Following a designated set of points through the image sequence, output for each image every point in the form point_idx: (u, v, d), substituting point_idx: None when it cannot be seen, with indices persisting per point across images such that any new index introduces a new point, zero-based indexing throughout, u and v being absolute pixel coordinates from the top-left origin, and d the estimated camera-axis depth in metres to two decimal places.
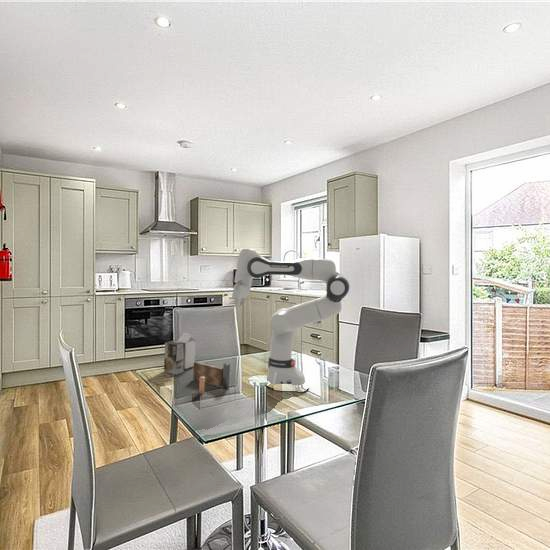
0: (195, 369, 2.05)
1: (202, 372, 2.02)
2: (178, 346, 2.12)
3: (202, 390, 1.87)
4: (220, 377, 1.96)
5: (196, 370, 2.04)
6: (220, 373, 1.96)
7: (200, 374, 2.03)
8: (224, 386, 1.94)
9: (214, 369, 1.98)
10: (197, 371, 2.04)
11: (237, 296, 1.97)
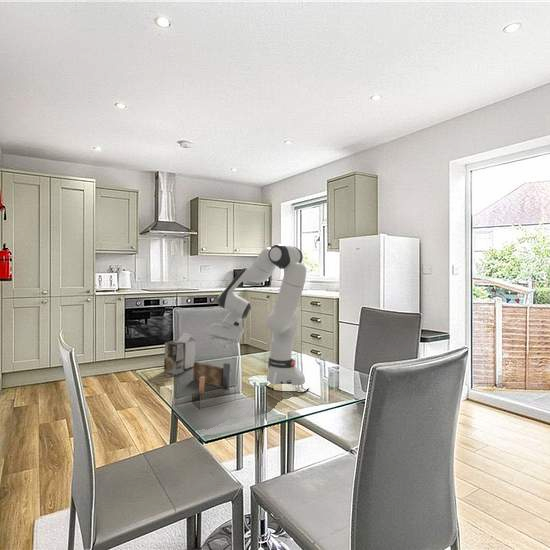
0: (195, 369, 2.05)
1: (202, 372, 2.02)
2: (178, 346, 2.12)
3: (202, 390, 1.87)
4: (220, 377, 1.96)
5: (196, 370, 2.04)
6: (220, 373, 1.96)
7: (200, 374, 2.03)
8: (224, 386, 1.94)
9: (214, 369, 1.98)
10: (197, 371, 2.04)
11: None
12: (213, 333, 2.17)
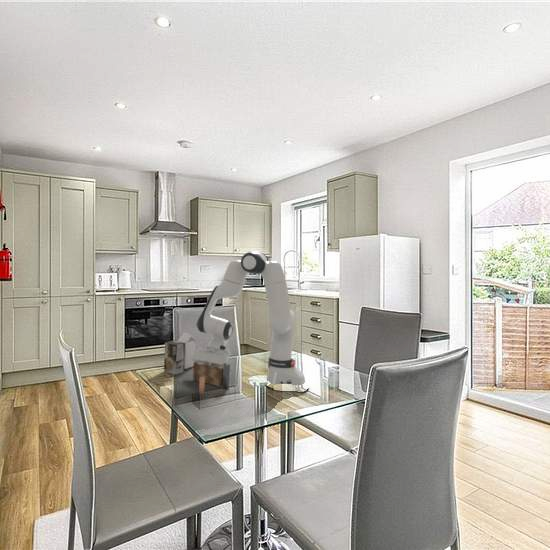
0: (195, 369, 2.05)
1: (202, 372, 2.02)
2: (178, 346, 2.12)
3: (202, 390, 1.87)
4: (220, 377, 1.96)
5: (196, 370, 2.04)
6: (220, 373, 1.96)
7: (200, 374, 2.03)
8: (224, 386, 1.94)
9: (214, 369, 1.98)
10: (197, 371, 2.04)
11: None
12: (198, 359, 2.09)
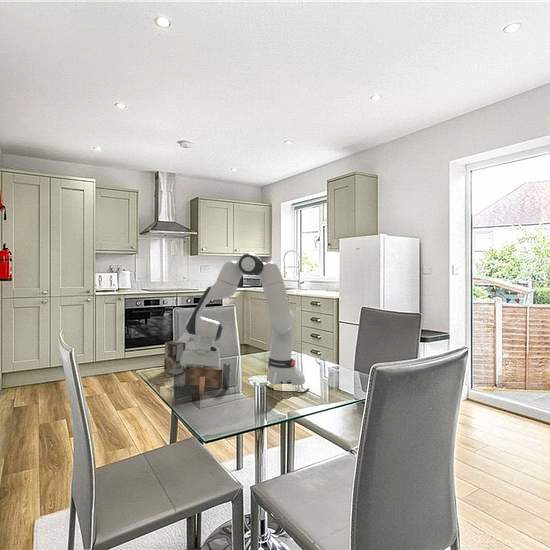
0: (187, 374, 1.97)
1: (196, 376, 1.96)
2: (178, 346, 2.12)
3: (202, 390, 1.87)
4: (220, 378, 1.95)
5: (188, 374, 1.97)
6: (220, 374, 1.95)
7: (194, 378, 1.96)
8: (224, 386, 1.94)
9: (212, 371, 1.95)
10: (190, 375, 1.97)
11: None
12: (188, 362, 2.01)
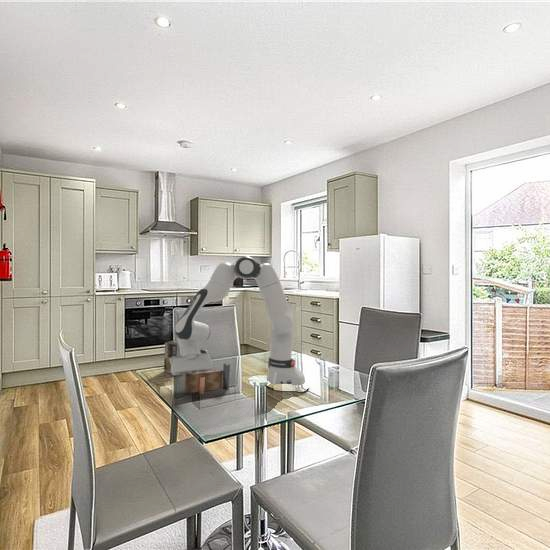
0: (188, 381, 1.85)
1: (198, 381, 1.88)
2: (178, 346, 2.12)
3: (202, 390, 1.87)
4: (221, 379, 1.94)
5: (190, 382, 1.86)
6: (221, 375, 1.93)
7: (195, 384, 1.87)
8: (224, 386, 1.94)
9: (214, 373, 1.91)
10: (191, 383, 1.86)
11: (172, 369, 1.87)
12: (183, 370, 1.88)
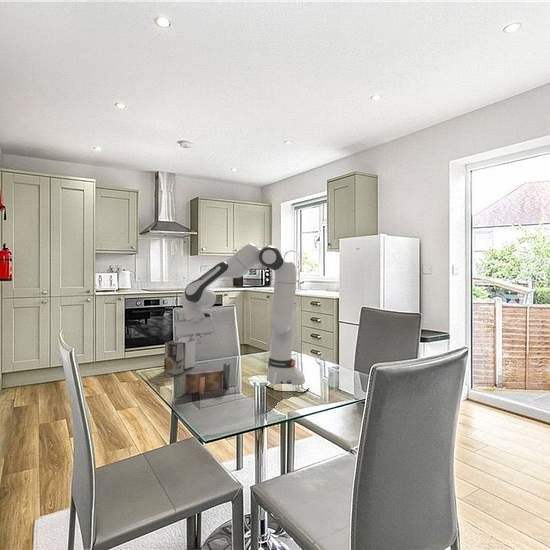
0: (188, 381, 1.85)
1: (198, 381, 1.88)
2: (178, 346, 2.12)
3: (202, 390, 1.87)
4: (221, 379, 1.94)
5: (190, 382, 1.86)
6: (221, 375, 1.93)
7: (195, 384, 1.87)
8: (224, 386, 1.94)
9: (214, 373, 1.91)
10: (191, 383, 1.86)
11: (177, 333, 1.94)
12: (187, 333, 1.95)
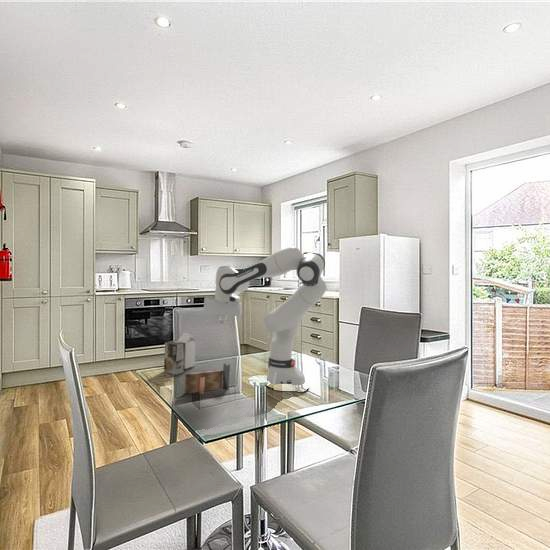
0: (188, 381, 1.85)
1: (198, 381, 1.88)
2: (178, 346, 2.12)
3: (202, 390, 1.87)
4: (221, 379, 1.94)
5: (190, 382, 1.86)
6: (221, 375, 1.93)
7: (195, 384, 1.87)
8: (224, 386, 1.94)
9: (214, 373, 1.91)
10: (191, 383, 1.86)
11: None
12: (212, 312, 2.08)
